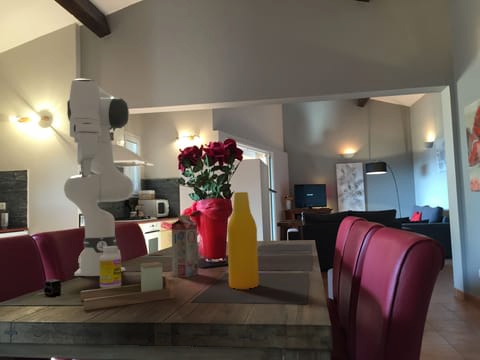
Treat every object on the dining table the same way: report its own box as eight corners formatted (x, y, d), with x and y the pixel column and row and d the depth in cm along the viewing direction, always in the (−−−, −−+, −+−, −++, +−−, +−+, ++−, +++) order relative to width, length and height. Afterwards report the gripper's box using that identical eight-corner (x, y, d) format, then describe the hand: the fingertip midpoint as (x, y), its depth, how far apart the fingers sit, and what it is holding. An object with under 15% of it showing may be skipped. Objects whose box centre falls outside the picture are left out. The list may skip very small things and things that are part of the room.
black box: (29, 296, 117) (29, 281, 117) (52, 291, 123) (52, 276, 123) (53, 300, 110) (53, 284, 111) (76, 295, 116) (76, 280, 117)
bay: (80, 300, 107) (80, 282, 108) (162, 289, 118) (162, 273, 118) (84, 310, 96) (83, 290, 96) (174, 297, 106) (173, 279, 107)
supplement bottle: (114, 288, 121) (114, 247, 122) (95, 288, 122) (95, 248, 123) (125, 284, 128) (124, 245, 128) (107, 284, 129) (106, 245, 130)
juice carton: (198, 274, 142) (196, 214, 144) (186, 277, 137) (185, 215, 138) (184, 272, 146) (182, 214, 147) (172, 276, 140) (171, 215, 142)
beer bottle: (264, 286, 117) (261, 191, 119) (239, 291, 112) (235, 192, 114) (248, 282, 125) (245, 192, 127) (223, 286, 120) (220, 193, 122)
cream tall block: (140, 295, 111) (140, 263, 112) (158, 292, 113) (158, 261, 114) (144, 299, 106) (144, 265, 107) (163, 296, 109) (162, 263, 109)
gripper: (72, 136, 124) (72, 179, 123) (76, 123, 106) (76, 173, 105) (93, 137, 127) (93, 179, 126) (100, 125, 109) (100, 173, 108)
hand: (85, 176), depth 116 cm, fingers open, 8 cm apart
